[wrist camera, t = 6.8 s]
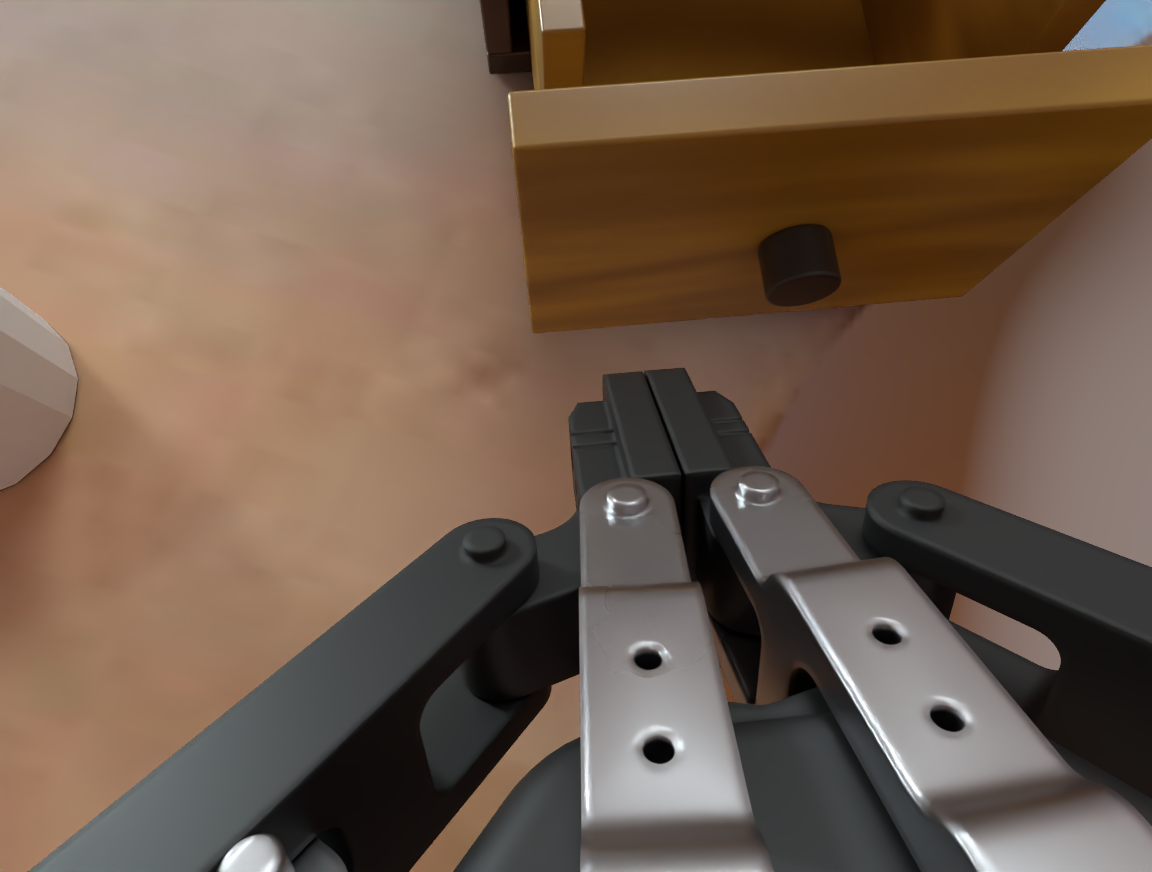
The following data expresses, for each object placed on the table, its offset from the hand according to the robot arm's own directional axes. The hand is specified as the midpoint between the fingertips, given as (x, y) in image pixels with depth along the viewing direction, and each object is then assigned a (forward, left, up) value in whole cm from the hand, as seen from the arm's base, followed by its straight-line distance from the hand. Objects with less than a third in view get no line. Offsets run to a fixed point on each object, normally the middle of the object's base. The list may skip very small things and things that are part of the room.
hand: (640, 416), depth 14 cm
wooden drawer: (+9, +5, -5) cm, 12 cm away
